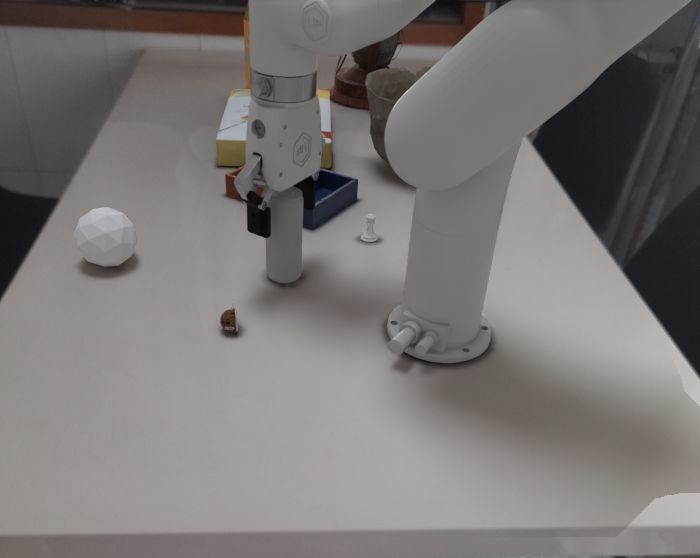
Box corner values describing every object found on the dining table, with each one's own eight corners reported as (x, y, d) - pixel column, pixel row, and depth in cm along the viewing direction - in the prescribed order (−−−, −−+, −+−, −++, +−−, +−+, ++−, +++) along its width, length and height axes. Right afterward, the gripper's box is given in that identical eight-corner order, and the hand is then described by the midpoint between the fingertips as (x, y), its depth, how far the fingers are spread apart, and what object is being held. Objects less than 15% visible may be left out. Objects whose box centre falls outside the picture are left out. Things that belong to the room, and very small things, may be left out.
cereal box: (329, 88, 145) (334, 139, 122) (329, 116, 148) (333, 170, 126) (228, 86, 144) (214, 137, 121) (230, 114, 147) (217, 168, 125)
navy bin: (312, 229, 108) (312, 207, 106) (273, 216, 111) (273, 195, 108) (357, 199, 117) (358, 179, 115) (320, 188, 120) (320, 167, 118)
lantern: (330, 80, 169) (335, -66, 151) (410, 86, 169) (425, -60, 151) (324, 106, 153) (329, -53, 136) (413, 112, 153) (429, -46, 136)
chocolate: (222, 322, 87) (220, 294, 85) (240, 322, 87) (239, 294, 85) (218, 336, 85) (217, 307, 82) (237, 336, 85) (236, 308, 83)
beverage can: (259, 278, 96) (257, 194, 89) (278, 263, 99) (278, 181, 92) (290, 288, 94) (290, 204, 87) (308, 273, 98) (310, 190, 90)
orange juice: (245, 89, 160) (242, -10, 148) (282, 86, 163) (282, -11, 151) (256, 100, 154) (254, -2, 143) (295, 96, 158) (295, -3, 146)
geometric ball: (127, 274, 100) (158, 231, 97) (93, 283, 92) (126, 236, 90) (87, 237, 100) (117, 193, 97) (51, 243, 93) (82, 195, 90)
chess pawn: (377, 236, 107) (379, 211, 105) (378, 242, 106) (380, 218, 103) (360, 235, 107) (361, 211, 105) (360, 242, 106) (362, 217, 103)
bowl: (500, 164, 133) (515, 81, 124) (451, 206, 117) (465, 114, 108) (395, 137, 141) (402, 57, 132) (337, 172, 126) (341, 85, 117)
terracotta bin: (272, 210, 112) (272, 189, 110) (226, 195, 116) (224, 174, 114) (312, 187, 120) (312, 166, 118) (267, 173, 124) (267, 153, 121)
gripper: (264, 111, 74) (265, 256, 84) (350, 74, 86) (342, 205, 97) (207, 95, 77) (215, 237, 87) (299, 61, 89) (296, 189, 99)
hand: (282, 220), depth 92 cm, fingers open, 9 cm apart
